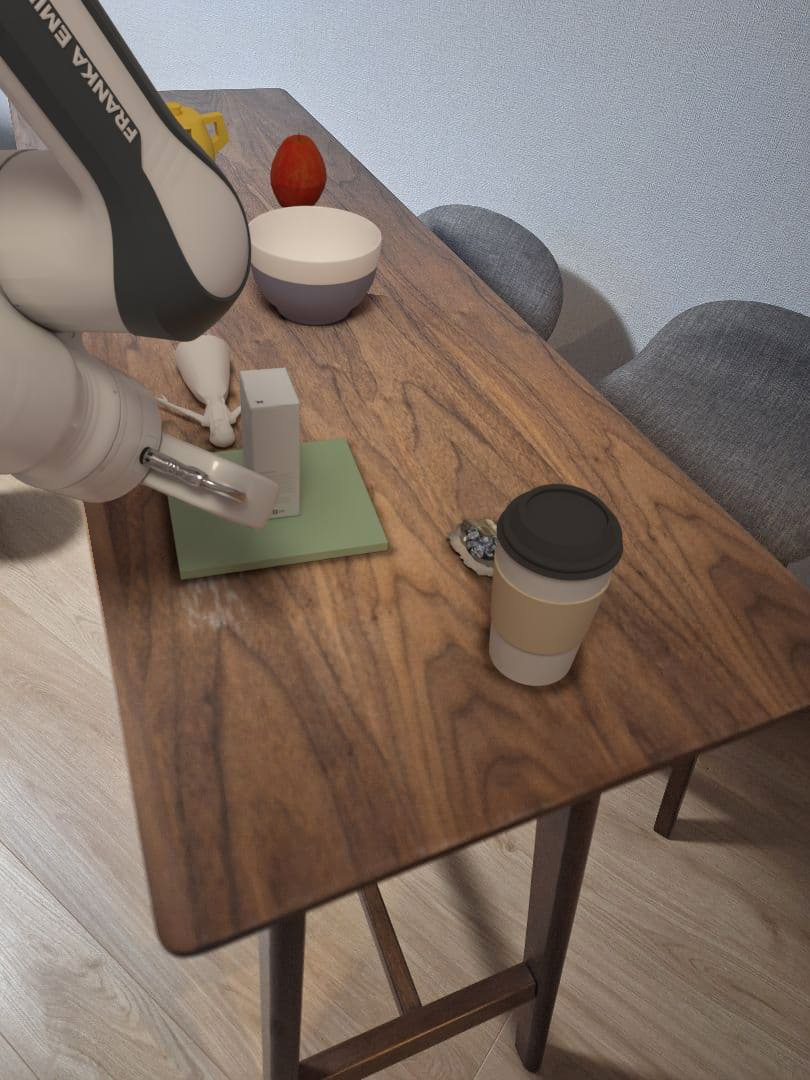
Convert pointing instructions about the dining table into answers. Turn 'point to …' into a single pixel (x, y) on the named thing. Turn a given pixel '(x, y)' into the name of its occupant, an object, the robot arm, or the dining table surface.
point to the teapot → (201, 127)
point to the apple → (298, 172)
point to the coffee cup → (549, 579)
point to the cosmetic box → (272, 433)
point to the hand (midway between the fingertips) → (195, 475)
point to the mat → (285, 521)
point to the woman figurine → (207, 385)
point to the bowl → (314, 261)
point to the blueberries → (476, 544)
